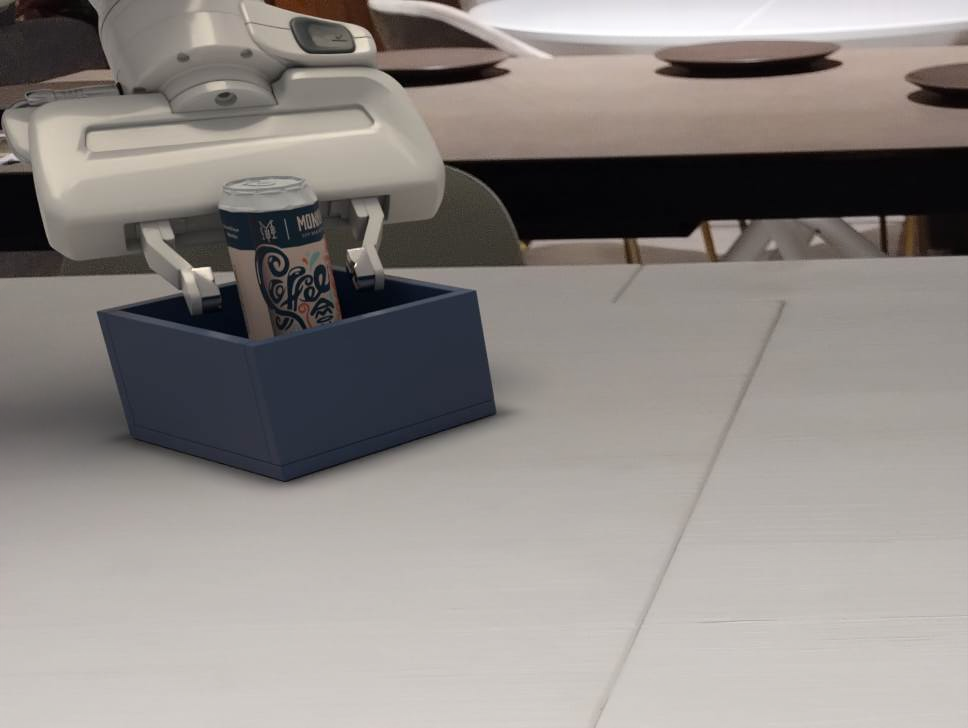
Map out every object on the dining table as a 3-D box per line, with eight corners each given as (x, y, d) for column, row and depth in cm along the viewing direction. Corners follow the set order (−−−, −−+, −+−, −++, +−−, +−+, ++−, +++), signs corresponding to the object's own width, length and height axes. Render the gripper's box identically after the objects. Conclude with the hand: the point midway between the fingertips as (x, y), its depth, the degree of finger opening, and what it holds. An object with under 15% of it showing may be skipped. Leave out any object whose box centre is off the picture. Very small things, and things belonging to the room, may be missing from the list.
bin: (130, 437, 91) (95, 311, 87) (344, 377, 100) (319, 262, 97) (284, 481, 84) (253, 346, 81) (497, 412, 94) (476, 290, 90)
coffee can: (313, 427, 89) (261, 193, 83) (247, 417, 91) (192, 186, 85) (379, 403, 93) (333, 177, 87) (314, 394, 95) (265, 171, 89)
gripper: (-19, 52, 83) (67, 288, 81) (398, 26, 93) (485, 235, 90) (-2, 136, 88) (79, 360, 86) (390, 103, 98) (472, 303, 96)
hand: (290, 296), depth 88 cm, fingers open, 7 cm apart
